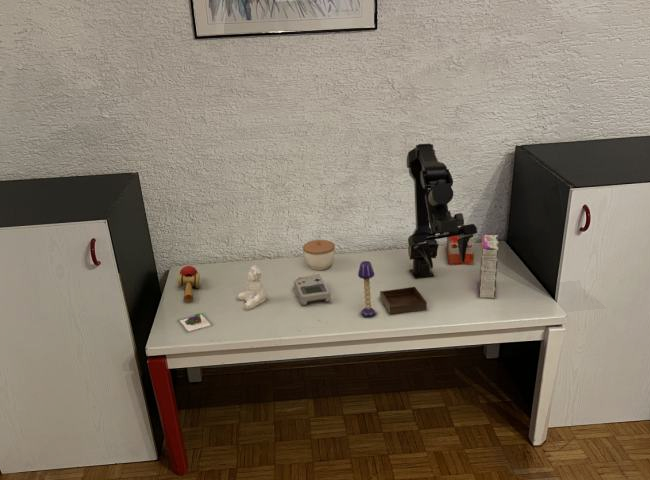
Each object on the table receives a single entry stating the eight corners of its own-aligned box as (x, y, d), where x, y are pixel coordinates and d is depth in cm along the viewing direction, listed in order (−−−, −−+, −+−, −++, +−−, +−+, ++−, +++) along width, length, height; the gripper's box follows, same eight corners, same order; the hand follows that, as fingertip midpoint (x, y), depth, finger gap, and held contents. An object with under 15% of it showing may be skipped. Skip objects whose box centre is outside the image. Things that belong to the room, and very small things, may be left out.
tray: (379, 298, 214) (379, 291, 213) (414, 294, 216) (414, 286, 215) (390, 315, 205) (390, 307, 204) (426, 310, 206) (426, 302, 205)
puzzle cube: (198, 318, 209) (197, 311, 208) (201, 322, 207) (200, 315, 206) (184, 322, 207) (183, 315, 206) (188, 325, 205) (186, 318, 204)
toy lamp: (364, 319, 203) (363, 267, 195) (356, 313, 207) (354, 261, 199) (378, 315, 205) (377, 263, 197) (370, 309, 209) (369, 257, 200)
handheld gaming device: (320, 283, 226) (319, 273, 224) (330, 303, 214) (330, 292, 212) (293, 288, 225) (292, 277, 223) (302, 307, 212) (301, 296, 210)
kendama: (204, 304, 220) (203, 274, 234) (198, 288, 216) (197, 258, 230) (181, 310, 220) (180, 280, 234) (174, 294, 216) (174, 264, 230)
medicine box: (473, 264, 233) (474, 242, 229) (448, 265, 234) (449, 242, 230) (469, 247, 246) (470, 226, 242) (445, 247, 247) (446, 226, 243)
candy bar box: (478, 282, 221) (481, 234, 213) (494, 283, 220) (498, 234, 212) (478, 298, 211) (481, 248, 203) (495, 299, 210) (499, 248, 202)
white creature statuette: (237, 298, 220) (232, 263, 214) (262, 292, 223) (259, 258, 216) (246, 310, 212) (242, 274, 206) (272, 304, 215) (269, 268, 209)
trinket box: (316, 258, 244) (315, 233, 240) (341, 264, 239) (340, 238, 234) (298, 269, 237) (296, 243, 232) (323, 275, 231) (322, 249, 227)
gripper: (413, 210, 186) (423, 268, 186) (479, 199, 188) (489, 256, 189) (403, 217, 197) (412, 272, 198) (465, 207, 199) (475, 261, 200)
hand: (447, 265), depth 196 cm, fingers open, 9 cm apart
